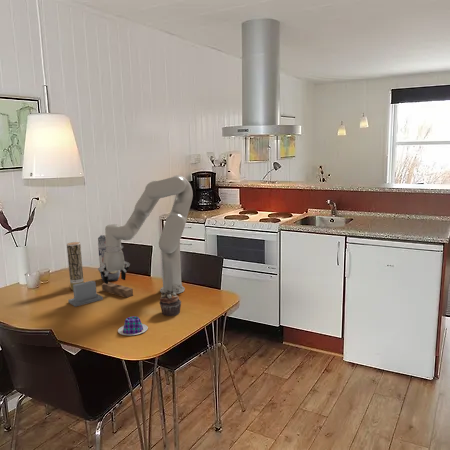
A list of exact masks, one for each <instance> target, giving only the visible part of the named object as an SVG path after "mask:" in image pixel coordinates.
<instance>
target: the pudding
mask: <svg viewBox="0 0 450 450" xmlns="http://www.w3.org/2000/svg"><path fill="white" fill-rule="evenodd" d="M148 328H149V327H148V325H146V324H145V323H142V320H141V319H140V318H139V316H135V315H133V316H128V317H127V318H125V320H124V325H122V326H121V327H119V328H118V329H117V332H118V334H120V335H122V336H135V335H140V334H143V333H146V331H147V330H148Z"/></svg>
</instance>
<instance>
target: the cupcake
mask: <svg viewBox="0 0 450 450" xmlns="http://www.w3.org/2000/svg"><path fill="white" fill-rule="evenodd" d="M181 305H182V301H181V300H180V296H178V295H177V294H175V293H174V292H173V291H169V290H167V292H165V293H161V294H160V298H159V307H160V310H161V313H162V315H163V316H165V315H166V316H167V317H172V316H177V315H179V314H180V312H181Z"/></svg>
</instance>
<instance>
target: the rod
mask: <svg viewBox="0 0 450 450" xmlns="http://www.w3.org/2000/svg"><path fill="white" fill-rule="evenodd" d="M101 290H102V292H106V293H109V294H112V295H116V296H120V297H123V298H130V297H133V296H134V291H133V290H134V289H133V288H132V287H128V286H125V285H121V284H118V283H114V282H111V281H108V284H106V283H104V282H103V283H102V284H101Z"/></svg>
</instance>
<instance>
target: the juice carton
mask: <svg viewBox="0 0 450 450" xmlns="http://www.w3.org/2000/svg"><path fill="white" fill-rule="evenodd" d="M97 246H98V247H97V248H98V261H99V267H100V266H102V265H103V259H104V253H105V252H106V236H105V233H103V234H100V236H99V237H98V238H97ZM102 271H103V272H104V270H103V269H102ZM99 274H100V277H101V280H102V282H104V281H103V275H102V274H101V273H100V272H99ZM120 275H121V270H118V271H113V272H109V273H108V275H107V276H108V282H112V281H113V282H116V281H119V278H120V277H121V276H120Z"/></svg>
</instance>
